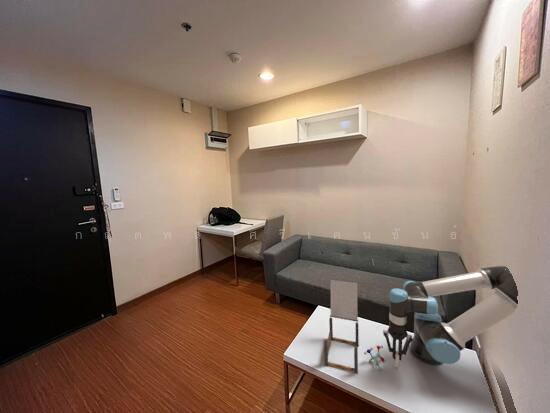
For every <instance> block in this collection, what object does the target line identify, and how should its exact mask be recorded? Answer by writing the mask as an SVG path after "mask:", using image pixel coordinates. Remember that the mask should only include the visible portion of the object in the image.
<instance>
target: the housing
mask: <svg viewBox="0 0 550 413" xmlns="http://www.w3.org/2000/svg"><path fill="white" fill-rule="evenodd" d="M333 330H334V329H333V317H329V333H328V337H327V339H324V340H323V344H324V345H323V349H324V350H323V353H324V354H323V355H324V356H323V357H324V366H326V367H327V366H329V367H333V368H335V369H340V370H344V371H348V372H352V373H354V374H357V375H358V373H359V372H358V371H359V370H358V369H359V364H358V363H359V361H358V360H359V359H358V357H359V356H358V355H359V353H358V351H359V349H358V348H359V345H360V344H359V341H360V340H359V335H360V334H359V322H356V321H355V341H353V340H348V339H343V338H339V337H338V338H337V337H335V336H334V334H333ZM333 341H334V342H339V343H344V344H349V345H353V349H354V350H353V351H354V352H353V354H354V355H353V356H354V357H353V361H354V367H350V366H347V365H343V364H338V363H336V362H332V361H329V353H330V349H331V348H330V347H331V344H332V342H333Z"/></svg>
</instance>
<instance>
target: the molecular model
mask: <svg viewBox="0 0 550 413" xmlns="http://www.w3.org/2000/svg"><path fill="white" fill-rule="evenodd" d="M376 349H377V353H376V355H372V353H371V351H373V350H374V348H373V347H371V346H370V349H367V350H366V351H364V352H363V354H364V355H367V354H369V355H370V356H371V357H370V358H369V359H368V361H369V363H372V361H374V364H371V367H372V368H375V367H378V368H379V371H382V370H383V369H382V367H381V366H380V363H382V362H384V361H385V358H384V357H383V356H381V353H380V349H384V346H383V345H376ZM377 357H378V358H380V359H379V360H378V361H376V358H377Z"/></svg>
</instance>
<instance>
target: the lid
mask: <svg viewBox="0 0 550 413" xmlns="http://www.w3.org/2000/svg"><path fill="white" fill-rule="evenodd" d="M329 318H335V319H340V320H346V321H350V322H351V321H352V322H355V323H356V322H357V323H359V318H358V282H348V281H342V280H341V281H340V280H333V279H332V280H331V279H330V314H329Z"/></svg>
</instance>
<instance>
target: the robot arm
mask: <svg viewBox="0 0 550 413" xmlns="http://www.w3.org/2000/svg"><path fill="white" fill-rule="evenodd" d="M506 266H507V265H496V266H488V267H483V268H478V269H477V270H476V271H474V272H473V271H472V272H468V273H463V274H458V275H453V276H447V277H441V278H437V279H431V280H426V281H421V282H415V281H414V280H407V281H405V282H404V283H403V284H402V285H403V286H402V287H403V289H401V288H392V289H391V290H390V292H389V298H388V300H389V311H388V312H389V315H388V319H389V320H388V328H387V330H386V329H384V330H382V333H383V337H385V341H386V344H387V348H388V352H390V353H392V359H393V360H394V365H395V367H396V368H400V362H401V361H402V359H403V358H402V357H403V356H406V355H407V353H408V351H409V350H410V353H411V354H412V355H413V356H414V357H415V358H416V359H417V360H420V361H421V362H423V363H425V364H429V365H434V366H438V365H441V364H446V365H452V364H453V365H454V364H455V363H457V362H458V361H460V359H461V351H463V350H464V349H466V343H467V342H468V341H470V340H472V339H473V338H475V337H477V336H478V335H480V334H482V333H483V332H485V331H487V330H489V329H490V328H492V327H493V326H495V325H497V324H498V323H500V322H502V321H503V320H505V319H507V318H508V317H510V316H512V315H514V314H515V313H516V312H515V309H516V308H517V306H518V305H517V304H518V300H517V296H518V290H517V286H516V283H515V281H514V279H513V276H512V274H511V273H510V271H509V269H508V268H507V267H506ZM505 269H506V270H505ZM481 289H487V290H493V289H494V292H493V294H492V295H490V296H488V297H487V298H485V299H484V300H482V301H481V302H479V303H477V304H475V305H474V306H472V307H471V308H469V309H468V310H466V311H465V312H464V313H462V314H460V315H459V316H457V317H456V318H454V319H452V320H451V321H450V322H447V323H445V322H442V321H443V320H442V317H441V315H440V314H439V313H438V312H439V305H438V301H437V299H436V298H435V297H437V296H444V295H449V294H450V295H451V294H456V293H461V292H467V291H473V290H475V291H476V290H481ZM514 312H515V313H514ZM408 313H414V316H413V317H414V318H413V319H414V320H413V321H414V323H413V335H411V334H408V331H407V325H408V324H407V323H408V321H407V320H408ZM389 335H390V337H391V338H392V346H391V342H390V338H389ZM397 340H398V345H397ZM403 340H405V342H404V345H403ZM397 346H398V347H397ZM397 348H398V349H397ZM397 350H398V351H397Z"/></svg>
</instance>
